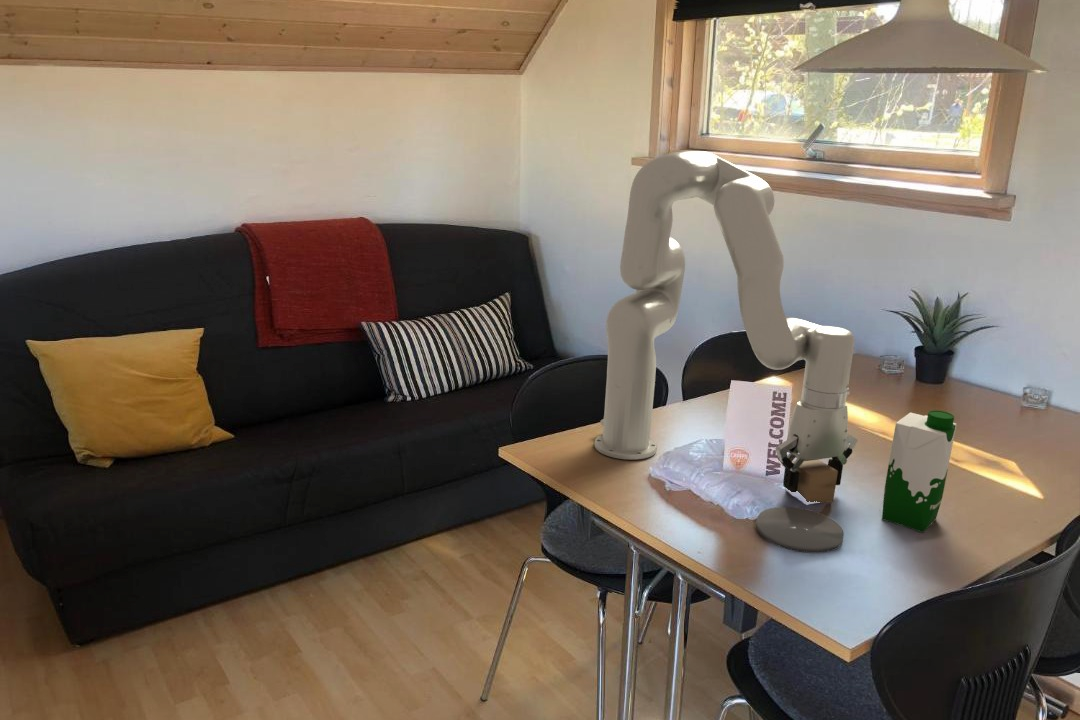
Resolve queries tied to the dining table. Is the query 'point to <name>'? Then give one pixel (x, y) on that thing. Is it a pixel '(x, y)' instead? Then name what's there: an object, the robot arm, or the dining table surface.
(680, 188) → the robot arm
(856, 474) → the dining table surface
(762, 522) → the slate plate
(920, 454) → the soya milk
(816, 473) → the walnut cube
